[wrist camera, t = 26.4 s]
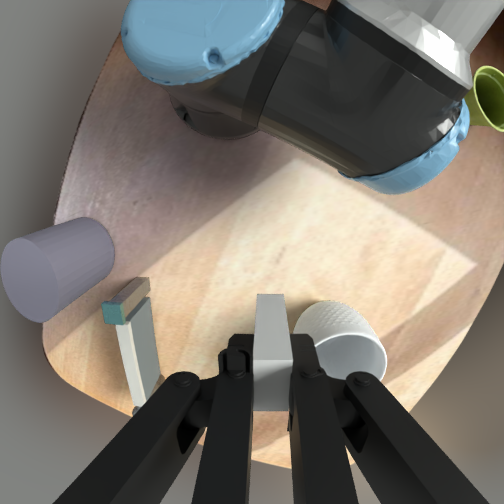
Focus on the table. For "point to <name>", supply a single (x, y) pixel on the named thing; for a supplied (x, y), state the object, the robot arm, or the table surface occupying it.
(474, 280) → the table surface
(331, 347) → the mug
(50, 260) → the container
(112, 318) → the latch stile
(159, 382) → the hinge post
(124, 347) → the grey flat board
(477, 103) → the plant pot
